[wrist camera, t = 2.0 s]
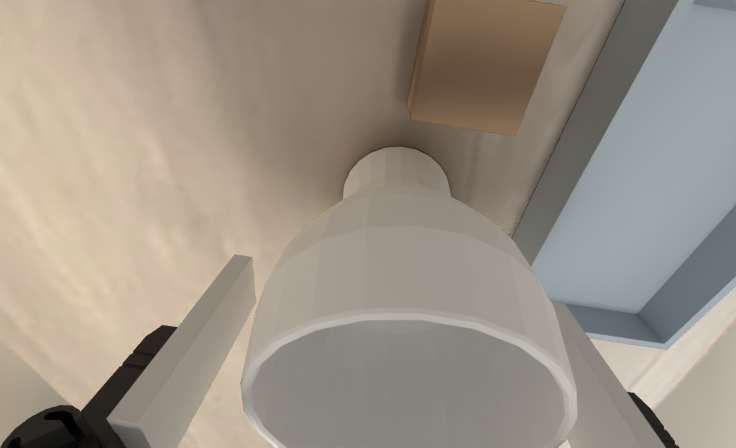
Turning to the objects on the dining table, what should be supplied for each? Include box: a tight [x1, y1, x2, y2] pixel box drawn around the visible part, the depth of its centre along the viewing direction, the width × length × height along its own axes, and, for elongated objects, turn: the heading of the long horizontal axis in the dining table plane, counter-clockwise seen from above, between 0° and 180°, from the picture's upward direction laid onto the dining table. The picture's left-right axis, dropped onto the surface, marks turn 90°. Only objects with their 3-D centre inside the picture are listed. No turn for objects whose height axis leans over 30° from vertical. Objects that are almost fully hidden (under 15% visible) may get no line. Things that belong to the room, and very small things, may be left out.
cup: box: [240, 147, 577, 448], centre depth 15 cm, size 11×11×15 cm
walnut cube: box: [407, 0, 567, 136], centre depth 15 cm, size 5×5×5 cm
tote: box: [512, 0, 736, 350], centre depth 18 cm, size 21×13×4 cm, turn 172°
